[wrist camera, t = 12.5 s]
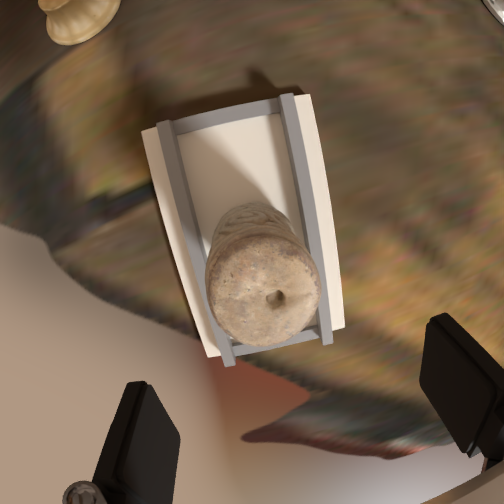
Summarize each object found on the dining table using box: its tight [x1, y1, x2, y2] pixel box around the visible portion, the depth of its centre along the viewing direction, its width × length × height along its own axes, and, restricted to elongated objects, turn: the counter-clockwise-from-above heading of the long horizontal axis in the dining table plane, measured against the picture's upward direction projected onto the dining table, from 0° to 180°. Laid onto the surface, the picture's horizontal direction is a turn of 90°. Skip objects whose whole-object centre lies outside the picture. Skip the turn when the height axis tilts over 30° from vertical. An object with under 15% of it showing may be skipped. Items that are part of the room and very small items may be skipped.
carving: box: [205, 202, 322, 347], centre depth 21 cm, size 6×8×12 cm
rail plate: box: [141, 93, 345, 367], centre depth 26 cm, size 22×14×3 cm, turn 12°
